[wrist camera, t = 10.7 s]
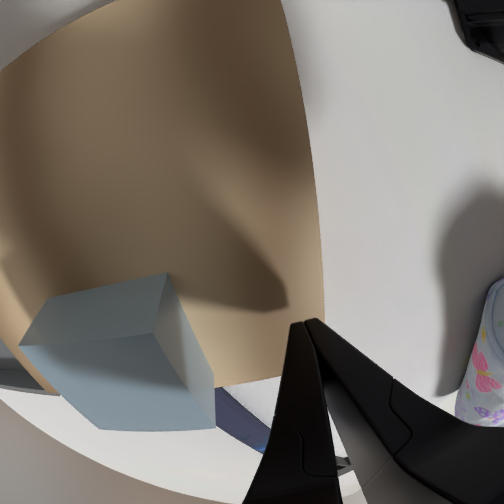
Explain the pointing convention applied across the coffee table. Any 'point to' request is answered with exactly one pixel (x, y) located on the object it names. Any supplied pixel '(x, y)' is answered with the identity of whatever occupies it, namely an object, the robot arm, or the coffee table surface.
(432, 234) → the coffee table surface
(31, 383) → the tray
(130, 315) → the tile
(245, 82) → the oak board
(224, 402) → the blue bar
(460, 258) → the coffee table surface
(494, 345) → the pencil case
